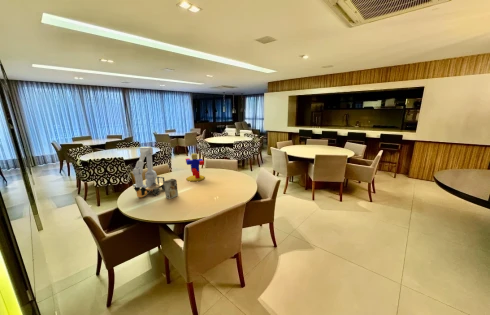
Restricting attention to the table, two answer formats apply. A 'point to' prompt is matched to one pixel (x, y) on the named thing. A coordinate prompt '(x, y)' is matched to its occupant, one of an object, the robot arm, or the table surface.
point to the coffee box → (171, 188)
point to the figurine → (195, 168)
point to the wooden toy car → (156, 187)
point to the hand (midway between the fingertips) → (141, 194)
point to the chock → (139, 194)
